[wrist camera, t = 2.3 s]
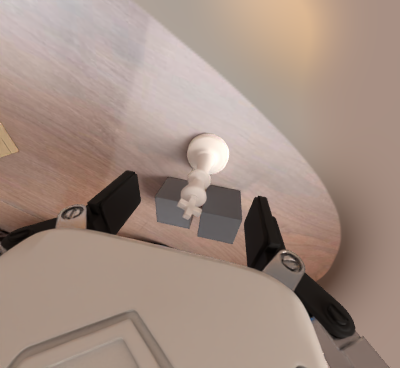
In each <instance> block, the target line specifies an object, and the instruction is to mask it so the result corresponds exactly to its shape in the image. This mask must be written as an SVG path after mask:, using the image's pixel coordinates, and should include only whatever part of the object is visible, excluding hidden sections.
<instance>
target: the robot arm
mask: <svg viewBox="0 0 400 368" xmlns="http://www.w3.org/2000/svg"><path fill="white" fill-rule="evenodd" d="M140 202H141V197H140V191H139V184H138V177H137V174H135V172H133V171H125V172H124V173H123V174H122V175H120V176H119V177H118V178H117V179H115V180H114V181H113V182H112V183H111V184H109V185H108V186H107V187H106V188H105V189H103V190H102V191H101V192H100V193H98V194H97V195H96V196H95V197H94V198H92V199H91V200H90V201H89V202H88V205H87V206H84V205H80V204H77V205H72V206H69V207H67V208H65V209H63V210H62V211H61V212H60V213H59V214H58V217H57V218H54V219H51V220H47V221H44V222H40V223H37V224H33V225H29V226H26V227H22V228H20V229H17V230H15V231H13V232H11V233H10V234H8V235H7V236H6V237H5V238H4V239H3V240H2V242H1V243H0V368H328V367H327V364H326V361H327V363H328V364H329V366H330V368H389V366H388V365H387V364H386V363H385V362H384V360H383V359H382V358H381V357H380V356H379V354H378V353H377V352H376V351H375V350H374V348H373V347H372V346H371V345H370V344H369V343H368V341H367V340H366V339H365V338H364V337H363V336H362V337H360V336H359V334H358V333H357V332H356V331H355V325H354V322H353V320H352V318H351V316H350V315H349V313H348V312H347V310H346V309H345V308H344V307H343V306H341V304H340V303H339V302H337V301H336V300H335V299H334V298H333V297H332V296H331V295H330V294H328V293H327V292H326V291H325V290H324V289H323V288H322V287H321V286H319V285H318V284H317V283H316V282H315V281H314V280H313V279H312V278H310V277H309V276H308V275H307V274H306V273H305V265H304V263H303V261H302V260H301V259H300V257H299V256H297V255H296V254H295V253H293V252H292V251H289V250H286V249H285V245H284V242H283V239H282V236H281V233H280V230H279V227H278V224H277V221H276V218H275V217H273V216H272V214H271V211H270V207H269V204H268V201H267V198H266V197H262V196H258V197H255V198H254V200H253V203H252V205H251V207H250V210H249V212H248V215H247V217H246V219H245V222H244V230H245V242H246V254H247V266H248V267H246V266H243V265H239V264H235V263H232V262H228V261H224V260H220V259H216V258H212V257H207V256H203V255H199V254H195V253H191V252H186V251H182V250H178V249H174V248H169V247H165V246H161V245H157V244H152V243H148V242H144V241H139V240H135V239H131V238H126V237H122V236H117V235H116V234H117V232H118V231H119V230H120V229H121V227H122V226H123V225H124V223H125V222H126V221H127V219H128V218H129V217H130V216H131V214H132V213H133V212H134V210H135V209H136V208H137V206H138V205H139V204H140ZM322 351H323V352H322ZM323 353H324V354H323ZM325 360H326V361H325Z"/></svg>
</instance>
